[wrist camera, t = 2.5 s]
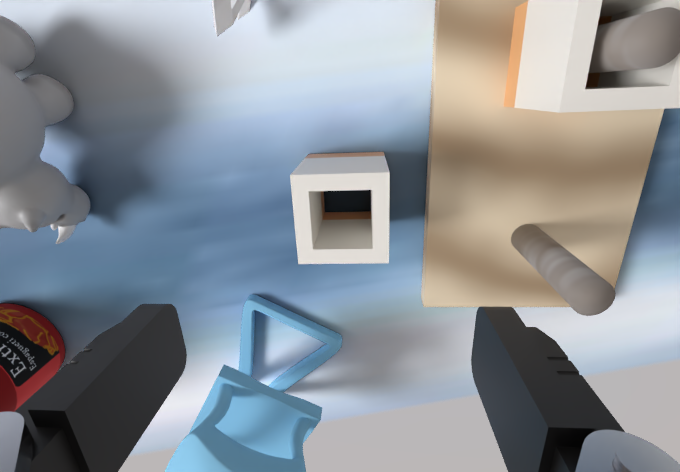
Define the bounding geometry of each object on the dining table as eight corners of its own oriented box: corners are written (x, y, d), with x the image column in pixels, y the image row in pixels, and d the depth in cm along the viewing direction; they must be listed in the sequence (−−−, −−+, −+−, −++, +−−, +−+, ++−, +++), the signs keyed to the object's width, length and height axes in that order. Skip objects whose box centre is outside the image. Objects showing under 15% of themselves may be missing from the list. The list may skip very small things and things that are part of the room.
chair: (213, 367, 29) (121, 537, 18) (251, 291, 26) (167, 439, 15) (298, 405, 30) (259, 588, 19) (344, 335, 27) (329, 505, 16)
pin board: (437, -46, 18) (490, -143, 11) (692, -64, 17) (948, -184, 10) (421, 297, 26) (445, 384, 18) (598, 297, 25) (702, 388, 17)
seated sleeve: (515, 7, 18) (584, -31, 12) (613, 1, 17) (729, -40, 12) (503, 106, 20) (559, 112, 14) (592, 102, 19) (686, 107, 14)
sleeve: (308, 154, 22) (290, 175, 17) (383, 151, 22) (389, 172, 16) (313, 223, 24) (298, 264, 18) (383, 222, 24) (388, 263, 18)
